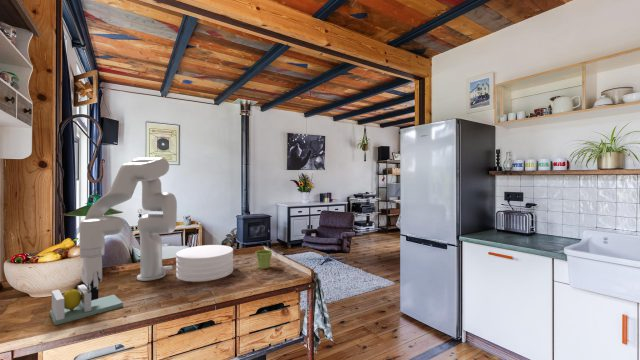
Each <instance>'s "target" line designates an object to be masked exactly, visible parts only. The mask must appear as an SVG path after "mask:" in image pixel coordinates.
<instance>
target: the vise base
mask: <svg viewBox="0 0 640 360" xmlns="http://www.w3.org/2000/svg"><path fill="white" fill-rule="evenodd" d="M123 307H124V302H123V301H122V300H121V299H120V298H118V296H117V295H115V294H111V295H106V296H102V297H98V299H96V300H92V301H91V311H87V312H84V311H83V309H82V308H81V307H80V305H78V306H77V307H76V308H74V309H73V310H69V309H65V308H64V297H63V294H62V292H61V291H60V289H54V290H51V309H50V310H49V315H50V318H51V320H52V322H53V324H54V326H58V325H61V324H64V323H68V322H72V321H76V320H79V319H83V318H86V316H87V317H91V316H93V315H96V314H97V313H98V314H102V313H104V312H109V311H112V310H116V309H120V308H123ZM108 310H109V311H108ZM90 315H91V316H90Z"/></svg>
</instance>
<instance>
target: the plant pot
mask: <svg viewBox="0 0 640 360" xmlns="http://www.w3.org/2000/svg"><path fill="white" fill-rule="evenodd" d="M272 253H273V250H270V249H263V250H257V251H255V253H254V254H255V256H256V260H257V267H258V268H259V269H261V270H264V269H266V270H267V269H269V268H270V266H271V258H272V255H273V254H272Z"/></svg>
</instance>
